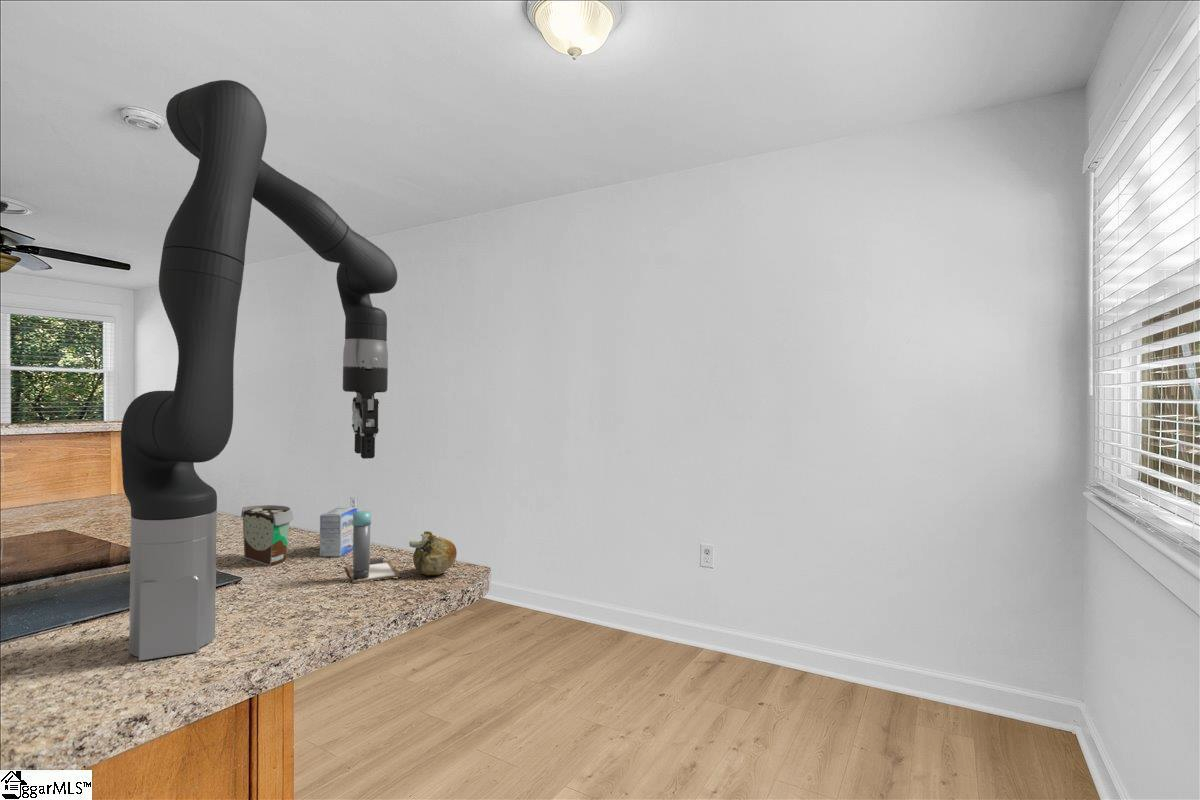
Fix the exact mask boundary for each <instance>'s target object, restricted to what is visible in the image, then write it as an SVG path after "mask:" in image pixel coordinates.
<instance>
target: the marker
mask: <svg viewBox="0 0 1200 800" xmlns="http://www.w3.org/2000/svg"><path fill="white" fill-rule="evenodd" d="M371 524H372V512H371V511H367V510H362V511H361V510H360V511H357V512H354V513H353V550H352V565H353V578H354V579H365V578H368V577H369V568H370V559H371V553H370V552H371Z"/></svg>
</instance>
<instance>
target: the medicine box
mask: <svg viewBox="0 0 1200 800" xmlns="http://www.w3.org/2000/svg"><path fill="white" fill-rule="evenodd" d="M354 512H358V507H351V506H350V507H349V506H344V507H342V506H340V507H337V508H334V509H331V510H330V511H327V512H324V513H322V514H320V515H319V557H325V558H327V557H329V558H332V557H333V558H335V557H336V558H341V557H343V556H345V555H347V554H348V553H350V552H351V551H353V513H354Z"/></svg>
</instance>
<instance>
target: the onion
mask: <svg viewBox="0 0 1200 800" xmlns="http://www.w3.org/2000/svg"><path fill="white" fill-rule="evenodd" d="M420 536H421V537H422V538H421V540H410V541H409V542H408V543H409V547H411V548H414V553H413V556H412V563H413V564H414V565H413V566H414V567H415V569H416V570H417V571H418V573H420V574H423V575H425V576H430V575H436V576H439V575H441V574H443V573H444V572H446V571H447V570H449V569H450V568H451V567H453V565H454V563H455V561H456V560H457V547H456V545H455V544H454V543H453V541H451V540H449V539H446V538H445V537H440V536H437V535H434V534H433V531H429V530H428V531H425V530H424V532H423V533H422V534H420Z"/></svg>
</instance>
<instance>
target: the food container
mask: <svg viewBox="0 0 1200 800" xmlns="http://www.w3.org/2000/svg"><path fill="white" fill-rule="evenodd" d="M241 509H242V510H241V515H240V518H242V530H243V533H242V537H243V556H244V557H243V559H246V560H249V561H252V562H256V563H259V564H262V565H265V566H268V567H274V566H277V565H280V564H282V563H284V562H285V561H286V559H287V550H288V549H287V548H288V541H289V531H290V530H289V529H290V522H292V521H294V516H293V511H292V510H291V507H289V506H284V505H278V504H277V505H276V504H275V505H274V504H273V505H271V504H269V505H268V504H264V505H262V504H261V505H250V506H242V508H241Z"/></svg>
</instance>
